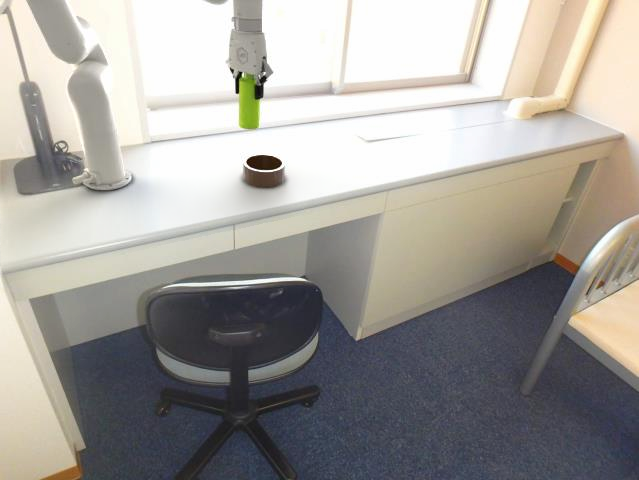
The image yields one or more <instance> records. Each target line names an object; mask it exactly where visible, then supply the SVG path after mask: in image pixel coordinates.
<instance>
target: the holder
mask: <svg viewBox="0 0 639 480" xmlns="http://www.w3.org/2000/svg"><path fill="white" fill-rule="evenodd" d="M242 166H243V167H242V171H243V172H242V173H243V174H242V175H243V176H242V177H243V181H244V182H245V183H246V184H247V185H249V186H251V187H254V188H258V189H259V188H260V189H271V188H276V187H278V186H281V185H282V184H283V183H284V181H285V171H286V170H285V169H286V162H285V161H284V159H283V158H282V157H280V156H277V155H274V154H270V153H255V154H250V155H249V156H246V157H245V158H244V159H243V163H242Z"/></svg>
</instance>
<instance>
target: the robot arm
mask: <svg viewBox="0 0 639 480" xmlns="http://www.w3.org/2000/svg"><path fill="white" fill-rule="evenodd" d="M202 1H204V2H206V3H209V4H210V5H216V6H222V5H225V4H226V3H229V1H230V0H202ZM232 1H233V3H232V4H233V5H232V6H233V7H232V8H233V16H232V17H231V23H233V28H231V31H230V35H229V37H230V38H229V45H228V58H227V59H226V61H225V64H226V66H227V67H228V69H229V71H230V73H231V75H232V78H233V80H234V90H235V91H234V92H235V94H236V95H239V79H240V78H241V77H244V73H248V74H252V75H254V77H255V81H256V85H255V86H254V98H255V100H258V99H260V100H261V99H263V98H264V94H265V93H264V92H265V84H266V82H268V80H270V78H271V77H273V75H274V74H275V73H274V71H273V69H272V67H271V66H270V64H269V54H268V42H267V36H266V32H265V31H264V25H265V24H264V23H265V22H264V16H265V15H264V14H265V11H264V10H265V0H232ZM25 2H26V4H27V5H28V7H29V10H30V11H31V13H32V16H33V19H34V20H35V22H36V24H37V26H38V28H39V31H40V32H41V35H42V36H43V38H44V41H45V43H46V44H47V46H48V48H49V51H50V52H51V54H52V55H53V56H54V57H55V58H56V59H57V60H58V61H59V62H61V63H63V64H66V65H71V67H72V70H73V71H71V74H70V75H69V76H68V78H67V81H66V96H67V99H68V101H69V105H70V107H71V109H72V112H73V116H74V119H75V123H76V127H77V132H78V136H79V140H80V144H81V147H82V152H83V156H84V157H83V158H84V161H85V165H86V168H83V172H82V173H81V174H80V175H78V176H74V177H72V178H71V181H72V183H73V184H74V185H75V186H76V185H79V184H81V183H82V184H83V185H84V186H86V187H87V188H89V189H92V190H95V191H112V190H113V191H114V190H118V189H120V188H123V187H125V186H126V185H128V184H130V182H131V181H132V174H131V172H130V171H129V170H128V169H125V166H124V160H123V154H122V148H121V145H120V143H121V142H120V138H119V133H118V127H117V122H116V116H115V113H114V109H113V106H112V102H111V94H112V91H113V89H114V87H115V83H116V79H115V74H114V73H115V72H114V71H113V68H112V66H111V63H110V61H109V59H108V57H107V54H106V52H105V49H104V47H103V45H102V42H101V39H100V38H99V36H98V34H97V32H96V30H95V29H94V27H93V25H91V24H90V23H89V22H88V21H87V20H86V19H84V18H82V17H81V16H78V15H76V13H75V12H74V9H73V7H72V4H71V2H70V0H25Z"/></svg>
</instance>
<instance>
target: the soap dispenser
mask: <svg viewBox="0 0 639 480" xmlns="http://www.w3.org/2000/svg"><path fill="white" fill-rule="evenodd" d="M255 85H256V81H255V77H254V75H252V74H248V73H243V76H242V77H241V78H240V79H239V94H238V127H240V128H241V129H244V130H256V129H258V128H260V115H261V114H260V113H261V99H258V100H255V98H254V86H255Z"/></svg>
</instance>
